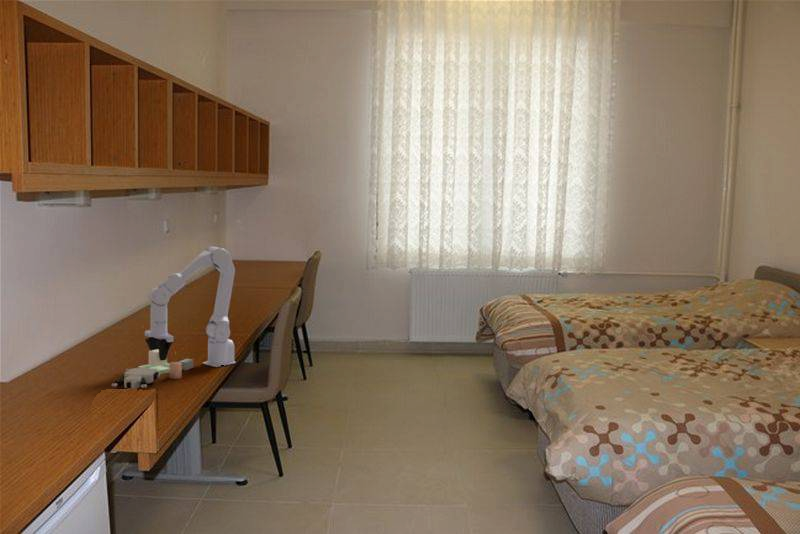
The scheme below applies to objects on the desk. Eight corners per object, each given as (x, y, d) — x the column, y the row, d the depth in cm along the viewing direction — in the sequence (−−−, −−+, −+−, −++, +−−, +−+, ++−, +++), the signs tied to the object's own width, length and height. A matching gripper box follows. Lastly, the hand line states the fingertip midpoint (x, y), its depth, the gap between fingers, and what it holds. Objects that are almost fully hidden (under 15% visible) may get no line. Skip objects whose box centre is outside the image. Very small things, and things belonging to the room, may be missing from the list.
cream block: (159, 362, 257) (159, 348, 257) (166, 364, 254) (167, 350, 254) (148, 364, 253) (148, 350, 253) (155, 366, 251) (155, 352, 250)
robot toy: (147, 395, 227) (163, 380, 242) (146, 382, 226) (163, 367, 241) (109, 394, 227) (128, 378, 242) (108, 380, 226) (127, 365, 241)
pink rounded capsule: (176, 375, 249) (176, 361, 248) (183, 377, 246) (183, 363, 246) (167, 377, 246) (167, 363, 245) (173, 379, 243) (173, 365, 243)
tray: (162, 365, 261) (162, 361, 261) (179, 370, 255) (179, 366, 255) (138, 370, 253) (138, 366, 253) (154, 375, 247) (154, 371, 247)
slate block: (186, 366, 262) (186, 358, 261) (193, 367, 261) (193, 359, 261) (178, 369, 257) (178, 361, 256) (186, 370, 256) (186, 362, 256)
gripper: (137, 319, 254) (137, 357, 255) (161, 325, 245) (161, 364, 246) (154, 317, 259) (154, 354, 261) (178, 323, 251) (178, 360, 252)
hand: (158, 358), depth 254 cm, fingers closed on cream block, 4 cm apart
